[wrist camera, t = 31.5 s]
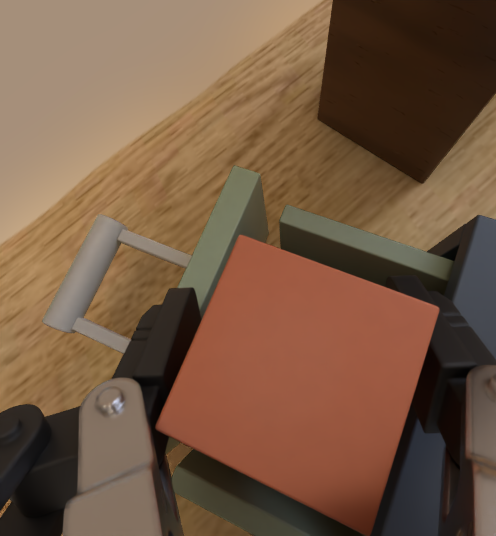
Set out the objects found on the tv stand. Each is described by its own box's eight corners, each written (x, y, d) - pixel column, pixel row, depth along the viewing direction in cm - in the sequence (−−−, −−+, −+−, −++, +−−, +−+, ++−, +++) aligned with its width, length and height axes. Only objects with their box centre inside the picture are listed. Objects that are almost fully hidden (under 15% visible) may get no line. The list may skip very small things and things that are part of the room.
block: (222, 389, 15) (152, 429, 7) (261, 293, 15) (238, 232, 8) (322, 435, 14) (370, 539, 6) (359, 331, 15) (442, 306, 7)
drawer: (70, 387, 20) (-44, 405, 13) (165, 195, 22) (111, 124, 15) (416, 563, 16) (512, 717, 9) (487, 311, 18) (606, 286, 12)
